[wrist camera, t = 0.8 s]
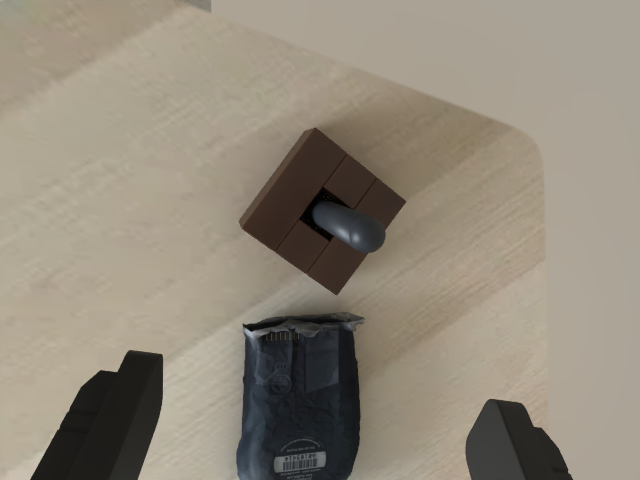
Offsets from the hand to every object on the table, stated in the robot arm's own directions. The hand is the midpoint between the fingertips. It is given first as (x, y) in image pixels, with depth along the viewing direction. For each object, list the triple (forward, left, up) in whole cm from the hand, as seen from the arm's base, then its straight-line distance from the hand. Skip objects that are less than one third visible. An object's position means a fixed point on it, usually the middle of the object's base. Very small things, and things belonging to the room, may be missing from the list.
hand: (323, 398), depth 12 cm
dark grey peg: (+2, +5, -23) cm, 24 cm away
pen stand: (+2, +5, -23) cm, 24 cm away
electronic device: (+10, -8, -23) cm, 27 cm away
